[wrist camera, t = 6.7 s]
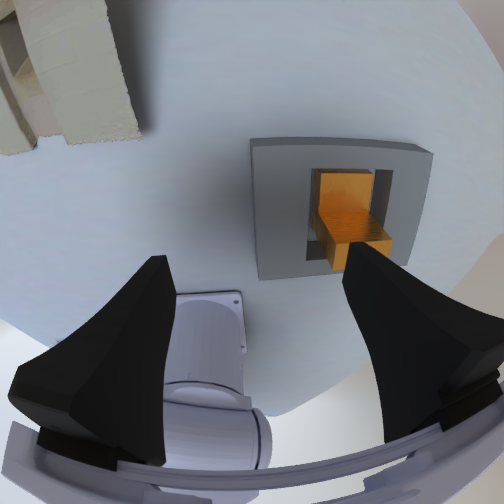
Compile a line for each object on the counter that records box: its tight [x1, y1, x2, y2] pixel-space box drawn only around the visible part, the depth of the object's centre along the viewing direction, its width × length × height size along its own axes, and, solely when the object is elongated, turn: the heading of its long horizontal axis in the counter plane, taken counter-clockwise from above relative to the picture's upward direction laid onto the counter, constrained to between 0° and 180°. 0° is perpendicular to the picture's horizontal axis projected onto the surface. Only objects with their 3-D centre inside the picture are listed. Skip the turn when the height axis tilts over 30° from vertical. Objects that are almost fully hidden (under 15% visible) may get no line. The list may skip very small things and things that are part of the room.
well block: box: [250, 137, 433, 281], centre depth 19 cm, size 10×13×2 cm
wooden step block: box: [312, 168, 393, 271], centre depth 18 cm, size 5×4×6 cm
